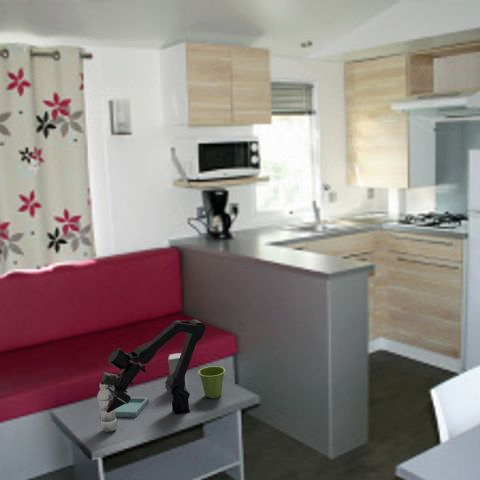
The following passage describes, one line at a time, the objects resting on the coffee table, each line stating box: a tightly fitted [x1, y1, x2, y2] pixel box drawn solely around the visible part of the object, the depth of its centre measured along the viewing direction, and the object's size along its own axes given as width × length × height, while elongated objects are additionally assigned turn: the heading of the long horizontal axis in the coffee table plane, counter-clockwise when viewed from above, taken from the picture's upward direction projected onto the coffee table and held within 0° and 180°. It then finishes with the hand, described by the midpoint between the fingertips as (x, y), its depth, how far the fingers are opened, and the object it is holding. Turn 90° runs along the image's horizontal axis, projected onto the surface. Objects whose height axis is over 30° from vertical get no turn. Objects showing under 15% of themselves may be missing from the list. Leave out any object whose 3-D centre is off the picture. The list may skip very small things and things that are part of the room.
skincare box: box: [167, 352, 189, 391], centre depth 302 cm, size 8×7×16 cm
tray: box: [115, 397, 150, 418], centre depth 285 cm, size 15×15×2 cm
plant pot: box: [197, 365, 226, 399], centre depth 292 cm, size 12×12×11 cm
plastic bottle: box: [96, 381, 119, 433], centre depth 264 cm, size 6×7×20 cm
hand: (104, 408), depth 264 cm, fingers open, 9 cm apart
